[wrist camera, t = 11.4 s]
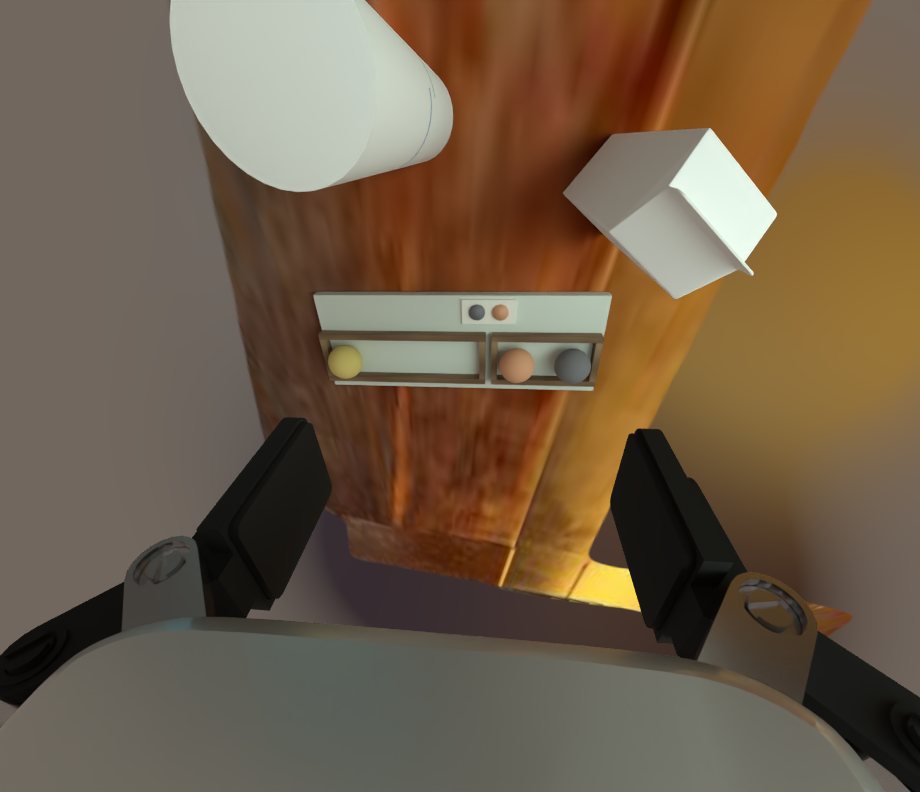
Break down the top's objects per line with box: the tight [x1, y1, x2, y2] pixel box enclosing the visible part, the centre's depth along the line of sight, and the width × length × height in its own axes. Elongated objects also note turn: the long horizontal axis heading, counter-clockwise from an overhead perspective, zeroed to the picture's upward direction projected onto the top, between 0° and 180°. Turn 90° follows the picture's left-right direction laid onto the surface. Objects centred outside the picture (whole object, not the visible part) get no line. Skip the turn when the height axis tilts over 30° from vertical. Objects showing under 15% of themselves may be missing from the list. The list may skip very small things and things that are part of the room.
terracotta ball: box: [499, 348, 534, 383], centre depth 43 cm, size 4×4×4 cm
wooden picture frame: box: [318, 330, 486, 384], centre depth 46 cm, size 6×20×1 cm, turn 92°
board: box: [313, 292, 612, 391], centre depth 45 cm, size 12×33×2 cm, turn 92°
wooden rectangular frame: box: [491, 332, 604, 387], centre depth 44 cm, size 6×12×1 cm, turn 92°
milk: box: [563, 128, 777, 299], centre depth 26 cm, size 6×6×22 cm
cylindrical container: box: [170, 0, 453, 192], centre depth 23 cm, size 7×7×25 cm
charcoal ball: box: [554, 349, 591, 384], centre depth 43 cm, size 4×4×4 cm
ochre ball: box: [328, 345, 363, 379], centre depth 45 cm, size 4×4×4 cm
